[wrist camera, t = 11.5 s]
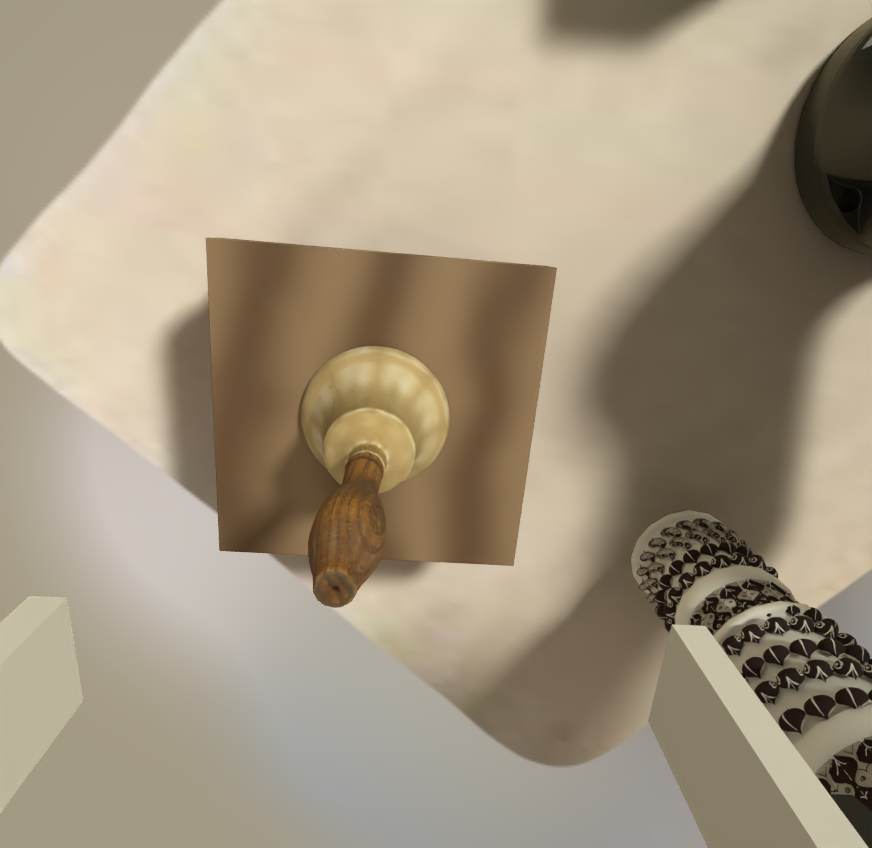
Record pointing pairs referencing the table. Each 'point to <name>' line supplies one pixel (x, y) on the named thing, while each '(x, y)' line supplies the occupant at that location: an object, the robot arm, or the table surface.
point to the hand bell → (366, 455)
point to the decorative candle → (767, 642)
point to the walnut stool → (387, 327)
